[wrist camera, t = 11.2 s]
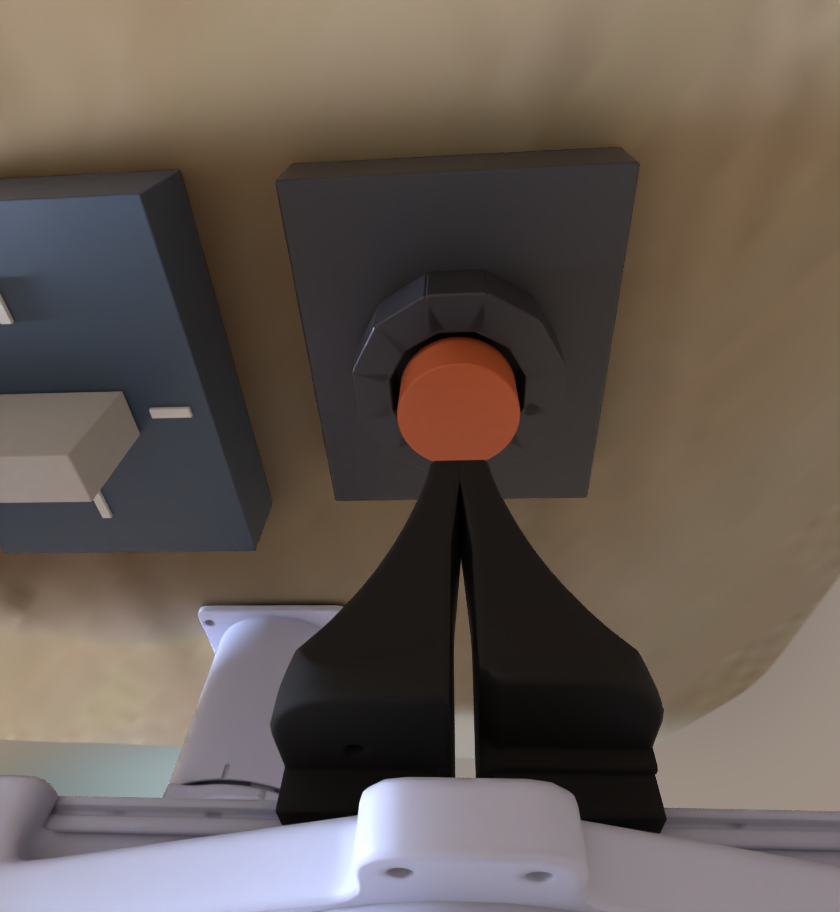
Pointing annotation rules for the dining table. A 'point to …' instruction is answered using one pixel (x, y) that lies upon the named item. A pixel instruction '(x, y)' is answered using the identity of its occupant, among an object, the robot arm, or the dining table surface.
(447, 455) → the button
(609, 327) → the button base
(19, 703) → the dining table surface
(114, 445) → the grey rectangular block
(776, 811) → the robot arm
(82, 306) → the dial panel
